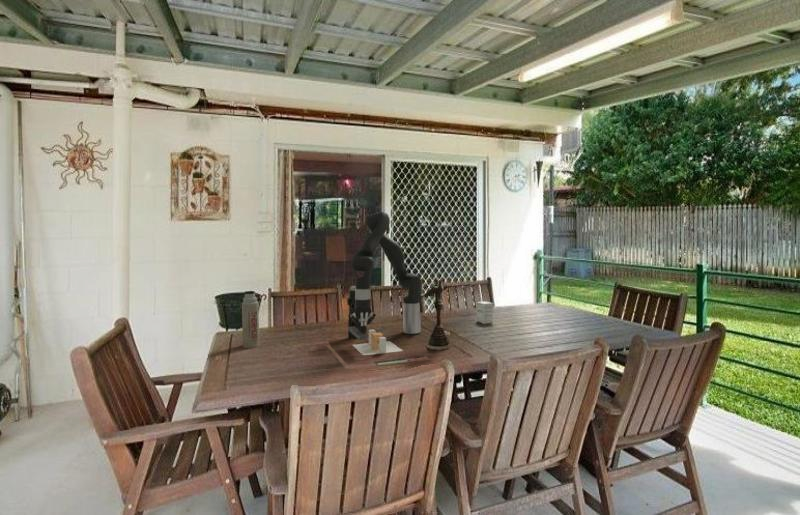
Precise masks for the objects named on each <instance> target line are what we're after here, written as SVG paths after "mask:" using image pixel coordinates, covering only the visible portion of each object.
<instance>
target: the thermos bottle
mask: <svg viewBox="0 0 800 515" xmlns="http://www.w3.org/2000/svg"><path fill="white" fill-rule="evenodd" d="M255 293H256V292H255V291H254V290H246V291H244V297H243V298H242V301H243V302H241V321H242V322H241V324H242V327H241V328H242V329H241V330H242V347H243V348H246V349H247V348H248V349H250V348H257V347H259V346H260V319H259V318H260V317H259V316H260V315H259V313H260V312H259V301H258V297H257V296H256V294H255Z"/></svg>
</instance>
